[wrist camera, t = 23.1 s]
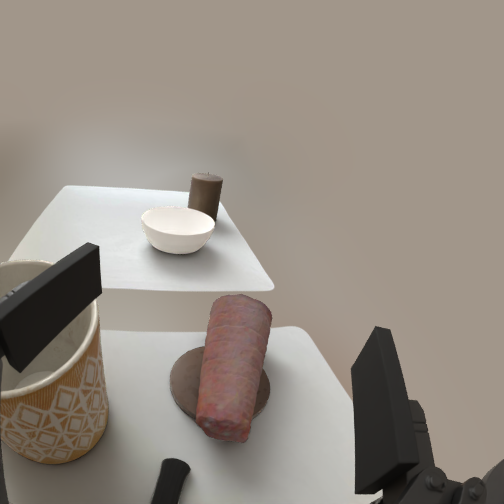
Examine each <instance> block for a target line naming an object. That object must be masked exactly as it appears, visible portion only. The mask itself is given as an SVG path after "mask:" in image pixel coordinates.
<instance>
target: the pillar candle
mask: <svg viewBox="0 0 504 504" xmlns="http://www.w3.org/2000/svg"><path fill="white" fill-rule="evenodd" d="M222 182H223V179H222V178H221V177H219V176H216V175H212V174H209V173H208V174H204V173H197V174H193V175H192V180H191V188H190V194H189V201H188V208H190V209H194V210H197V211H200V212H202V213H205V214H206V215H208V216H210V217H211V218H212V219H213V220H214V222H215V221H216V218H217V212H218V206H219V199H220V194H221V188H222Z"/></svg>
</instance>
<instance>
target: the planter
mask: <svg viewBox="0 0 504 504" xmlns="http://www.w3.org/2000/svg"><path fill="white" fill-rule="evenodd" d="M54 264H55V263H52V262H47V261H41V260H15V261H8V262H3V263H0V298H2V297H3V296H6V294H7V293H8V292H10V291H12V289H14V288H15V287H16V286H18V285H19V284H21V283H24V282H26V281H29V280H32V279H34V278H35V277H36V276H38V275H39V274H41V273H42V272H44V271H45V270H46V269H48V268H49V267H51V266H52V265H54ZM1 359H2V361H3V371H2V383H1V404H0V429H1V440H3V441H4V442H5V443H6V444H7V445H8V446H9V447H10V448H12V449H13V450H14V451H16V452H17V453H18V454H20V455H22V456H24V457H26V458H28V459H30V460H33V461H36V462H40V463H46V464H59V463H65V462H69V461H72V460H75V459H77V458H79V457H81V456H83V455H84V454H86V453H87V452H88V451H89V450H91V449H92V448H93V447H94V446H95V444H96V443H97V442H98V441H99V439H100V438H101V436H102V434H103V432H104V430H105V427H106V424H107V419H108V398H107V392H106V385H105V377H104V369H103V361H102V351H101V339H100V324H99V307H98V302H97V298H96V299H95V300H94V301H93V302H92V303H91V304H90V305H88V306H87V307H86V308H85V309H84V310H83V311H82V312H81V313H80V314H79V315H78V316H77V317H76V318H75V319H74V320H73V321H72V322H71V323H70V324H68V325H67V326H66V327H65V328H64V329H63V330H62V331H61V332H60V333H59V334H58V335H57V336H56V337H55V338H54V339H53V340H52V341H51V342H50V343H49V344H48V345H47V346H46V347H45V348H44V349H43V350H42V351H41V352H40V353H39V354H38V355H37V357H36V358H35V359H34V360H33V361H32V362H31V363H30V364H29V365H28V366H27V367H26V368H25V369H24V370H23V371H22V372H21V373H19V372H18V371H17V370H15V369H14V368H13V367H12V366H10V365H9V363H8V361H7V359H6V356H5V355H4V356H3V357H2V358H1Z"/></svg>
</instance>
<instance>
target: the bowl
mask: <svg viewBox="0 0 504 504" xmlns="http://www.w3.org/2000/svg"><path fill="white" fill-rule="evenodd" d="M141 222H142V229H143V232H144V233H145V235H146V238H147V240H148V241H149V242H150V243H151V244H152V246H154V247H155V248H157V249H159V250H161V251H164V252H168V253H173V254H187V253H192V252H195V251H197V250H199V249H200V248H201V247H202V246H203V245H205V243H206V242H207V240H208V239H210V237H211V235H212V232H213V230H214V227H215V222H214V220H213V219H212V218H211V217H210V216H208V215H206V214H205V213H202V212H200V211H197V210H194V209H190V208H185V207H176V206H164V207H156V208H152V209H149V210H147V211H145V212H144V213H143V214H142V216H141Z"/></svg>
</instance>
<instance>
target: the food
mask: <svg viewBox="0 0 504 504" xmlns="http://www.w3.org/2000/svg"><path fill="white" fill-rule="evenodd" d="M271 321H272V314H271V311H270V310H269V309H268V307H267V306H266V305H265V304H263V303H262V302H261V301H258V300H256V299H253V298H250V297H248V296H246V295H243V294H239V295H226V296H222V297H220V298H218V299H217V300H216V301H215V302H214V303H213V305H212V308H211V312H210V320H209V324H208V329H207V336H206V340H205V350H204V353H203V360H202V367H201V373H200V386H199V397H198V403H197V409H196V423H197V424H198V425H199V426H200V427H201V428H202V429H203V431H204V432H205V434H206V435H207V436H209V437H212V438H215V439H219V440H224V441H235V442H241V443H244V442H245V441H246V440H247V439H248V435H249V431H250V428H251V427H250V424H251V420H252V415H253V412H254V406H255V402H256V396H257V391H258V388H259V382H260V376H261V373H262V368H263V363H264V358H265V353H266V350H267V344H268V338H269V334H270V326H271Z"/></svg>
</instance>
